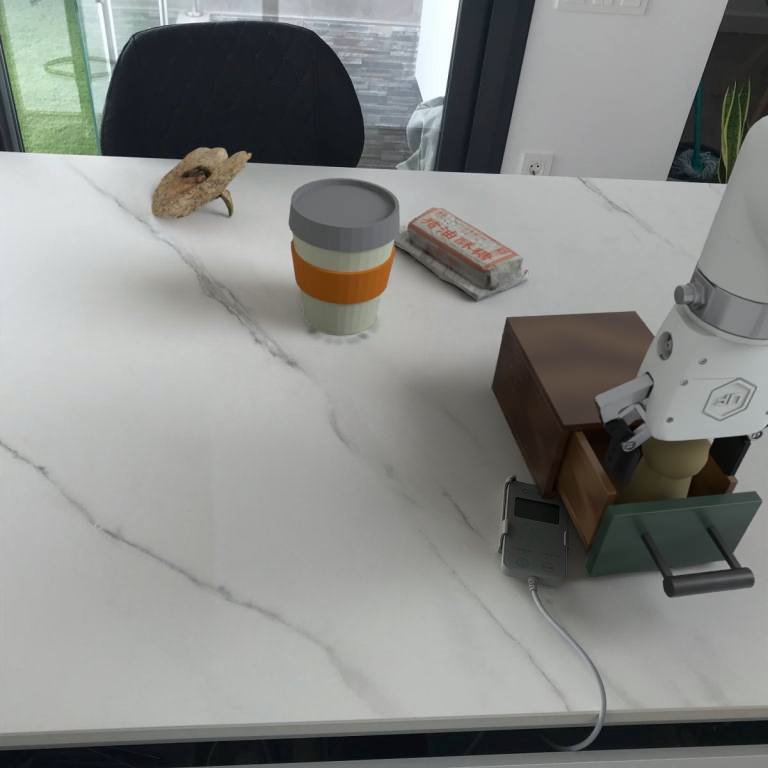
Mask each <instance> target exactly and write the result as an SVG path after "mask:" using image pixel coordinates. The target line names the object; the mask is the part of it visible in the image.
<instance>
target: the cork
mask: <svg viewBox="0 0 768 768" xmlns="http://www.w3.org/2000/svg"><path fill="white" fill-rule="evenodd" d="M642 452H643V457H642V458H641V460H640V462H639V463H638V465H637V466H636V468H635V470H634V472H633V475H632V477H631V480H630V482H629V484H628V485H627V486H624V487H623V489H622V490H621V492H620V493H619V495H618V496H617V498H616V500H615V501H614V503H613V504H612V505H618V504H629V503H639V502H649V501H659V500H669V499H679V498H686V497H687V493H688V490H689V486H690V482H691V479H692V476H693V475H696V474H697V473H698V472H699V471H700V470H701V469H702V468H703V467H704V465H705V464H706V462H707V460H708V453H709V446H708V443H707V440H706V439H695V440H681V441H663V440H658V439H656V438H654V437H653V436H651V437H650V438H649V439H647V440H646V441H645V442H643V443H642Z"/></svg>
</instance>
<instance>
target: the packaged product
mask: <svg viewBox="0 0 768 768" xmlns="http://www.w3.org/2000/svg"><path fill="white" fill-rule="evenodd" d="M394 246H395V247H398V248H400V249H401V250H404V251H405V252H407V253H409V254H410V256H412V257H413V258H414V259H415V260H417V261H418V262H420V263H421V264H423V265H424V266H425V267H426V268H428V269H429V270H430V271H432V272H433V273H434V275H436V276H437V277H438V278H439V279H440V280H443V281H446V282H447V283H450V284H452V285H454V286H455V287H458V288H460V290H462V291H464V292H465V293H466V294H467V295H469V296H470V297H471V298H473V299H475V300H476V301H478V302H479V301H481V300H483V299H486V298H489V297H490V296H494V295H497V294H498V293H501V292H503V291H506V290H508V289H511V288H513V287H515V286H518V285H521V284H523V283H526V282H528V279H529V269H524V268H523V267H522V265H523V259H524V257H522V255H520V254H519V253H517V252H515V250H512V249H511V248H509V247H507V246H506V245H505V244H502V242H499V241H498V240H495V239H494V238H493V237H491V236H490V235H488V234H487V233H485V232H483V231H481V230H479V229H478V228H477V227H475V226H473V225H471V224H470V223H468V222H466V221H465V220H463V219H462V218H459V217H458V216H456V215H454V214H453V213H451V212H450V211H448V210H446V208H443V207H431V208H428V209H427V210H426V211H424V212H423V213H421V214H420V215H418V216H416V217H414V218H413V219H412V220H410V221H409V222H408V224H407V230H406V231H402V232H399V233H398V235H397V236H396V238H395V239H394Z"/></svg>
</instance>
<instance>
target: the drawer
mask: <svg viewBox="0 0 768 768" xmlns="http://www.w3.org/2000/svg"><path fill="white" fill-rule="evenodd" d="M639 426H641V425H637V426H628V427H629V428H630V430H631V431H632V432H633V431H634V430H635V429H637V428H638V427H639ZM611 438H612V436H611V435H610V434H609V433H608V432H607V430H606V429H605V428H599V429H586V430H573V431H570V433H569V436H568V440H567V443H566V446H565V449H564V452H563V456H562V459H561V462H560V465H559V468H558V472H557V475H556V478H555V481H554V483H555V485H556V487H557V489H558V491H559V493H560V496H561V497H560V498H561V500H562V502H563V504H564V506H565V508H566V510H567V512H568V515H569V516H570V518H571V521H572V522H573V525H574V527H575V529H576V531H577V533H578V536H579V537H580V539H581V541H582V544H583V545H584V547H585V550H586V551H589V553H588V555H587V558H586V560H585V563H584V568H585V570H586V572H587V574H588V577H595V576H596V577H597V576H605V575H606V576H607V575H612V574H613V575H614V574H623V573H632V572H640V571H647V570H648V571H649V570H655V569H656V570H657V569H658V571H659V573H660V574H661V576H662V578H663V580H662V588H663V592H664V594H665V595H666V596H667V597H668V598H669V599H670V598H671V599H672V598H679V597H687V596H689V597H690V596H696V595H705V594H713V593H720V592H728V591H735V590H743V589H744V590H745V589H751V588H753V587H754V585H755V583H756V581H755V580H756V579H755V575H754V572H753V571H752V569H750V567H748V566H743V567H742V565H741V563H740V562H739V560H738V559H737V557H736V556H735V555H734V553H735V551H736V549H737V547H738V546H739V544H740V543H741V541H742V539H743V537H744V536H745V534H746V532H747V530H748V529H749V526H750V525H751V523H752V521H753V520H754V518H755V516H756V514H757V513H758V510H759V509H760V507H761V505H762V504H763V502H764V501H763V499H762V497H761V496H760V495H759V494H758V492H757V491H756V490H750V491H740V492H734V491H735V489H736V487H737V485H738V483H739V480H738V478H737V477H736V475H734V476H726V475H725V474H724V473H723V472H722V470H721V469H720V468H719V466H718V465H717V464H716V462H715V461H714V459H713V458H712V457H711V455H710V454H709V453H708V460H707V462H706V464H705V465H704V467H703V468H702V469H701V470H700V471H699V472H698V473H697V474H696V475H693V476H692V479H691V482H690V486H689V490H688V493H687V497H686V498H679V499H669V500H659V501H649V502H639V503H629V504H618V505H612V504H613V503H614V501H615V500H616V498H617V496H618V495H619V493H620V492H621V490H622V489H623V487H624V486H621V487H620V486H619V485H618V483H617V482H616V480H615V478H614V476H613V475H612V473H611V472H609V471H608V469H607V467H606V465H605V455H606V452H607V449H608V447H609V444H610V441H611ZM706 440H707V443H708V446H709V449H710V447H711V445H712V443H711V442H710V440H709V438H708V439H706ZM638 448H639V450H640V457H639V460H638V462H637V465H638V463H639V462H640V460H641V458H642V457H643V452H642V444H641V445H639V446H638ZM637 465H636V466H637ZM635 468H636V467H635ZM723 561H724V562H726V564H727V565H728V567H729V568H727V569H725V568H724V569H718V570H710V571H701V572H692V573H685V574H676V575H674V574H673V572H672V571H671V569H670V568H673V567H682V566H690V565H698V564H707V563H716V562H723Z"/></svg>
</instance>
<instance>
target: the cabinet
mask: <svg viewBox="0 0 768 768" xmlns="http://www.w3.org/2000/svg"><path fill="white" fill-rule="evenodd" d="M655 336H656V335H654V334H653V332H652V331H651V329H650V328H649V327H648V326H647V324H646V323H645V322H644V320H643V319H642V318H641V316H640V315H639V314H638V313H637V310H629V311H628V310H625V311H605V312H586V313H585V312H583V313H564V314H544V315H543V314H541V315H522V316H507V317H506V318H505V322H504V327H503V331H502V336H501V341H500V345H499V351H498V355H497V360H496V364H495V369H494V374H493V378H492V379H493V380H492V383H491V387H490V389H491V390H492V393H493V395H494V396H495V400H496V402H497V404H498V406H499V408H500V410H501V412H502V414H503V417H504V419H505V421H506V423H507V426H508V428H509V430H510V433H511V434H512V436H513V438H514V441H515V444H516V445H517V447H518V449H519V452H520V454H521V457H522V458H523V461H524V462H525V465H526V467H527V469H528V471H529V473H530V476H531V479H532V480H533V483H534V485H535V487H536V489H537V491H538V494H539V496H540V498H541V499H542V500H543V499H553V498H561V496H560V493H559V491H558V489H557V487H556V485H555V483H554V481H555V478H556V475H557V472H558V468H559V465H560V462H561V459H562V456H563V452H564V449H565V446H566V443H567V440H568V436H569V433H570V431H573V430H586V429H599V428H605V427H604V425H603V424H602V422H601V420H600V419H599V414H598V412H597V409H596V406H595V402H594V399H595V397H596V396H597V395H599V394H601V393H604V392H606V391H608V390H611V389H613V388H615V387H617V386H620V385H622V384H624V383H627V382H629V381H631V380H634V379H636V377H637V374H638V372H639V369H640V367H641V364H642V362H643V360H644V358H645V356H646V353H647V351H648V349H649V347H650V345H651V343H652V341H653V339H654V337H655ZM628 407H629V406H628ZM628 407H625V408H623V409H621V410H620V411H619V413H618V414H620V413H621V412H622V411H624V410H625V409H626V408H628ZM643 423H644V421H643V420H642V418H641V417H639V418H638V419H636V420H635V421H634V422H632V423H631V424H630V425H629V426H637V425H642V424H643Z"/></svg>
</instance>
